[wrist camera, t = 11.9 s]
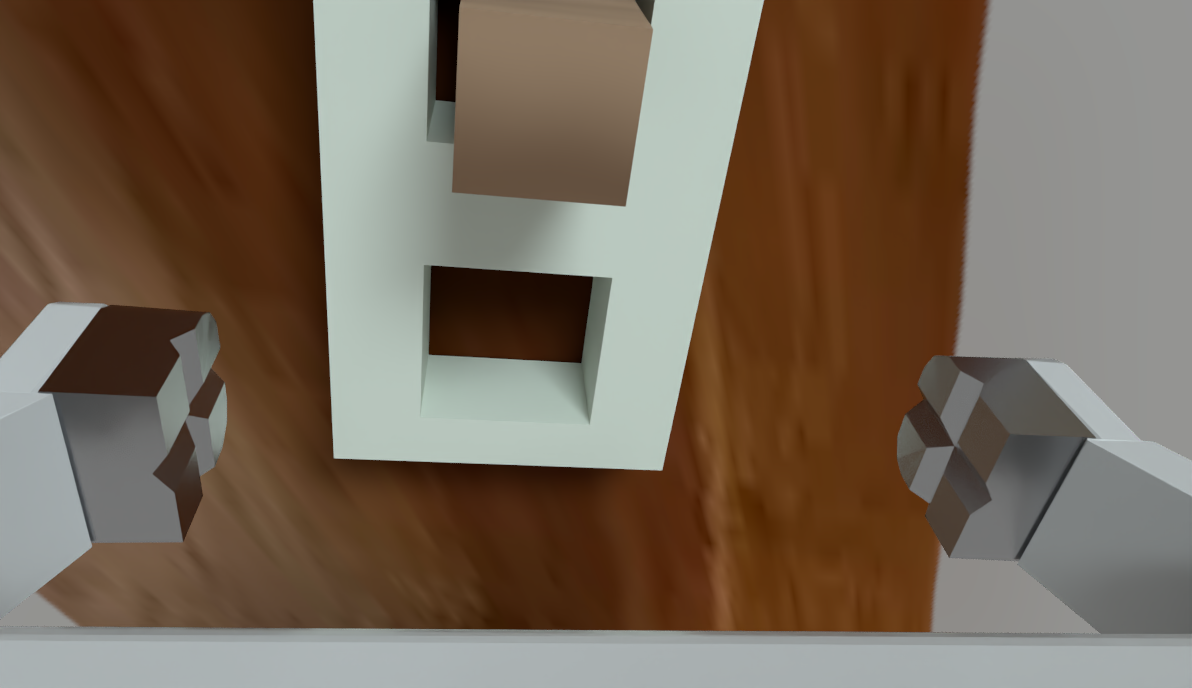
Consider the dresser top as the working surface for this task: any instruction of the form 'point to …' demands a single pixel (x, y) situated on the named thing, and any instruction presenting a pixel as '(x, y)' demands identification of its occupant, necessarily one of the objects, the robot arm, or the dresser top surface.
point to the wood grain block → (549, 98)
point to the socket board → (514, 247)
